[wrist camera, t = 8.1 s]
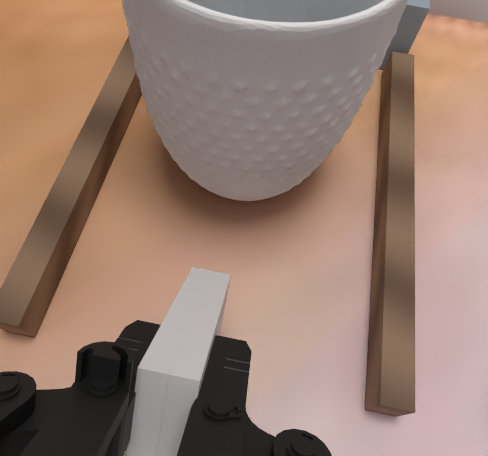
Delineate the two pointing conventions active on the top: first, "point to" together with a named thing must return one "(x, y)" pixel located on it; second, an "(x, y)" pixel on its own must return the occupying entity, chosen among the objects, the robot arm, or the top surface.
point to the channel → (384, 245)
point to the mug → (256, 83)
